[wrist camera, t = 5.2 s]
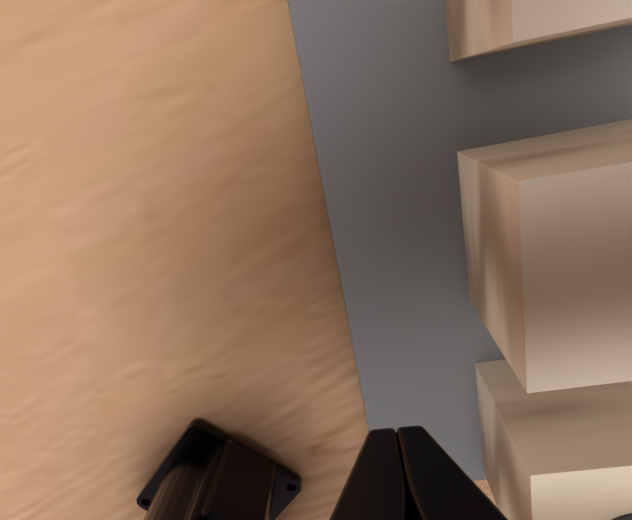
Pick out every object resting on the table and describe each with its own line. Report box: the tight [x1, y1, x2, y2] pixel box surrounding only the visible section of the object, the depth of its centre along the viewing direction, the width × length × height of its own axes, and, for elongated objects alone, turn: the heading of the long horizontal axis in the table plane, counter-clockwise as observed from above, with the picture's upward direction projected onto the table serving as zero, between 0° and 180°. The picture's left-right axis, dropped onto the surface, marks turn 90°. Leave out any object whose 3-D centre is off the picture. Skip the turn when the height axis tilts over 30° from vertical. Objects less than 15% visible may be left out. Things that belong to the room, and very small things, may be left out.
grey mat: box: [288, 0, 632, 480], centre depth 17 cm, size 25×16×1 cm, turn 11°
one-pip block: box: [475, 359, 632, 520], centre depth 17 cm, size 6×6×6 cm
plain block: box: [457, 119, 632, 393], centre depth 14 cm, size 6×6×6 cm
